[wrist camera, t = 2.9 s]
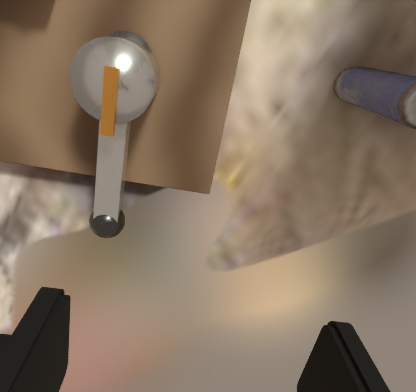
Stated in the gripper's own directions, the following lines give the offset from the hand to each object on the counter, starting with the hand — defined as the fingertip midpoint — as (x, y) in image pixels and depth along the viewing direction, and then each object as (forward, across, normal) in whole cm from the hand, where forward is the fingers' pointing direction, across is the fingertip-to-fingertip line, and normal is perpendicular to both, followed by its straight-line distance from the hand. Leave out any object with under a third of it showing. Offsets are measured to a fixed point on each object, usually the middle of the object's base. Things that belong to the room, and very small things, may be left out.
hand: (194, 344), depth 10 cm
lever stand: (+18, +6, -5) cm, 20 cm away
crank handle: (+16, +5, -1) cm, 17 cm away
